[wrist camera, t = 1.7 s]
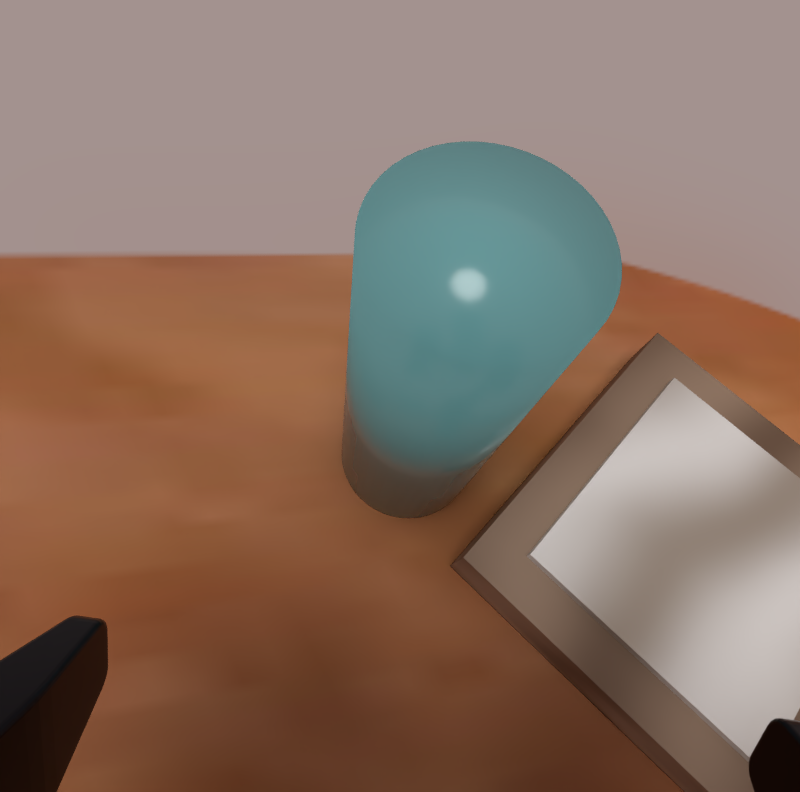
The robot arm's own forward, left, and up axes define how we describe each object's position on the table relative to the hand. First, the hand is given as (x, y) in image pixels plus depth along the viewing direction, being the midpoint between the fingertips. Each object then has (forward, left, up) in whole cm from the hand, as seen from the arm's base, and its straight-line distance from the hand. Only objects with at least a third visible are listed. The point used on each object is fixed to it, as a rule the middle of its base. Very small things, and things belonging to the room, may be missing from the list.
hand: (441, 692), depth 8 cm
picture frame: (-6, -10, -13) cm, 17 cm away
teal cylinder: (+4, -6, -13) cm, 15 cm away
